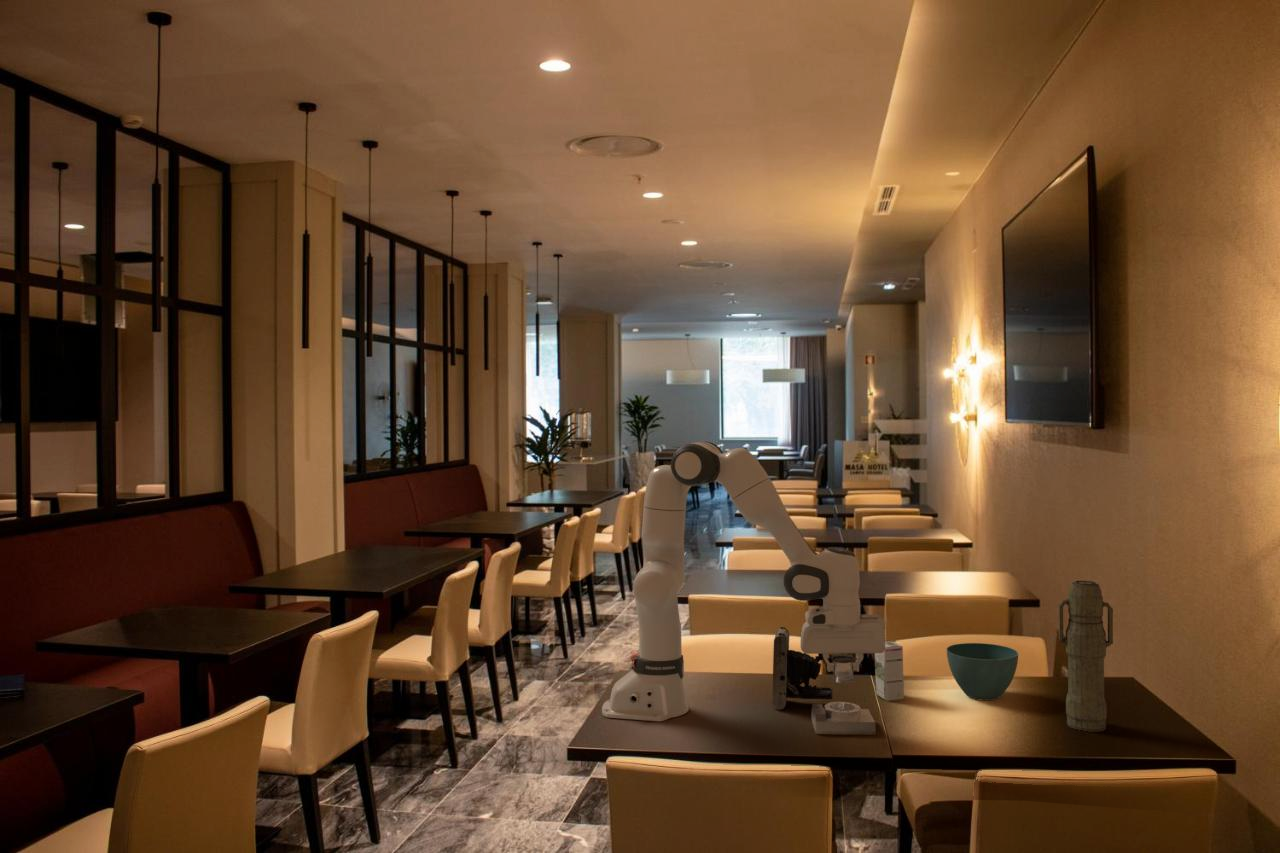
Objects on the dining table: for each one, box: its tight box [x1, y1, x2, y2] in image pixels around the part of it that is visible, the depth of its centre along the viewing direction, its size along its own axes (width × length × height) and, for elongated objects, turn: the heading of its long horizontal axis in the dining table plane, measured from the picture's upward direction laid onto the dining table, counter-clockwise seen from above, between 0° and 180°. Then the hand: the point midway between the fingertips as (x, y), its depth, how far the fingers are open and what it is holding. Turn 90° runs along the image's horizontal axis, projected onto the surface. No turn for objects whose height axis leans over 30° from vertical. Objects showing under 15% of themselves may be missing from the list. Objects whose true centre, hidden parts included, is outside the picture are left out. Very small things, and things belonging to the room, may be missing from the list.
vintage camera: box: [771, 626, 833, 711], centre depth 248 cm, size 10×16×20 cm, turn 79°
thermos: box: [1058, 580, 1114, 733], centre depth 229 cm, size 9×12×35 cm
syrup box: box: [874, 640, 905, 702], centre depth 254 cm, size 6×6×14 cm
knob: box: [832, 653, 854, 684], centre depth 230 cm, size 5×5×6 cm
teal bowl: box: [946, 642, 1019, 701], centre depth 255 cm, size 18×18×12 cm
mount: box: [810, 701, 876, 736], centre depth 231 cm, size 14×10×5 cm
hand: (843, 671), depth 230 cm, fingers closed on knob, 5 cm apart
